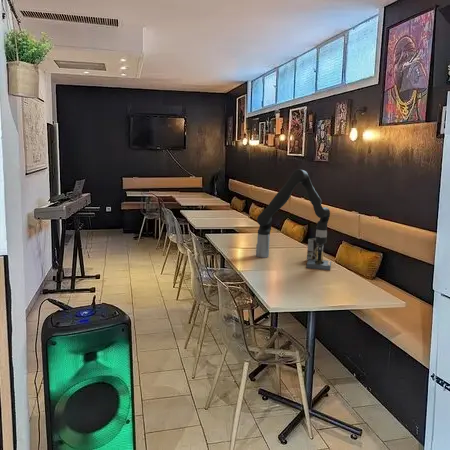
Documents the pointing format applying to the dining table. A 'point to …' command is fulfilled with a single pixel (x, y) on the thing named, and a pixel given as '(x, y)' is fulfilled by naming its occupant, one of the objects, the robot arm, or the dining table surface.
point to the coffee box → (312, 249)
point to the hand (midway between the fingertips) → (319, 259)
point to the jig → (319, 264)
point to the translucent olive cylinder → (321, 258)
